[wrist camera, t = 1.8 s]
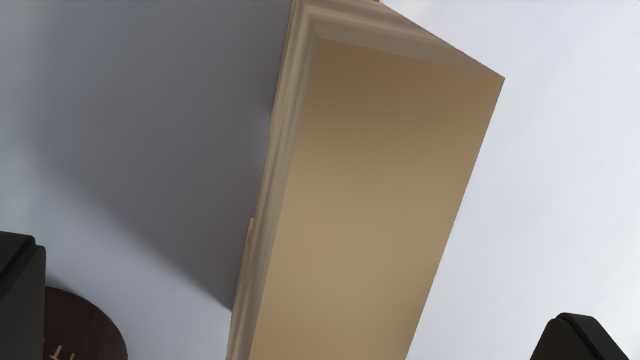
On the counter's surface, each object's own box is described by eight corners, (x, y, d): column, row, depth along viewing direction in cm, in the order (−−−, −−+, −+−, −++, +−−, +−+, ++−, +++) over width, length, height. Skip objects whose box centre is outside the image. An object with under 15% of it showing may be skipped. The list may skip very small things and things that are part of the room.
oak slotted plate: (299, 322, 21) (314, 613, 12) (231, 312, 21) (194, 605, 12) (380, 2, 17) (505, 77, 7) (296, -17, 16) (318, 37, 7)
